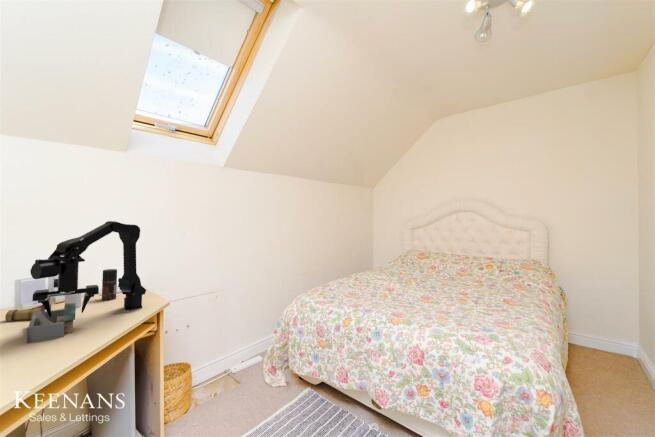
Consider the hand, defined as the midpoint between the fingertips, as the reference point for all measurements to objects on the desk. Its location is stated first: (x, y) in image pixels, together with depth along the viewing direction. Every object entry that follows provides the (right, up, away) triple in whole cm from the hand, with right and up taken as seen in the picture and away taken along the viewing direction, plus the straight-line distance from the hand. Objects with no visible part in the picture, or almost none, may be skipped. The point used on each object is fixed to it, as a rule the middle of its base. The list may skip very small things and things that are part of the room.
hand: (66, 314), depth 112 cm
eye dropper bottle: (-18, -5, +23) cm, 30 cm away
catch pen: (-4, -5, -3) cm, 7 cm away
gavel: (-26, -5, +15) cm, 30 cm away
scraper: (0, -5, 0) cm, 5 cm away
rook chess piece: (-4, -4, -3) cm, 7 cm away
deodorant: (-13, -5, +38) cm, 40 cm away
